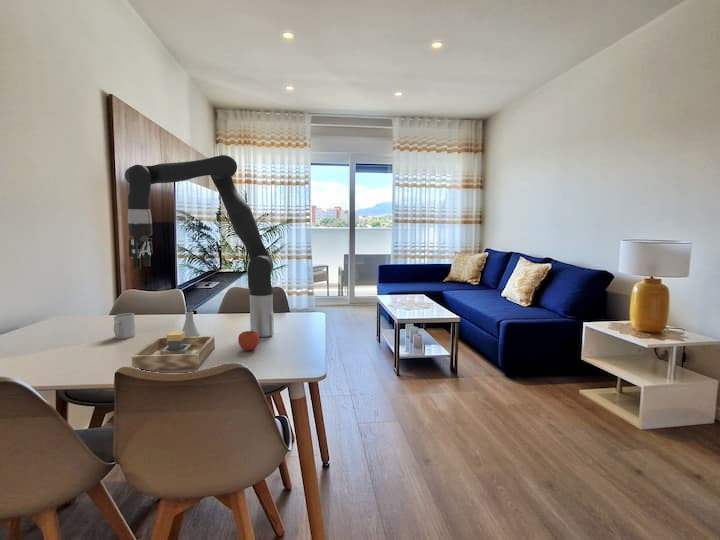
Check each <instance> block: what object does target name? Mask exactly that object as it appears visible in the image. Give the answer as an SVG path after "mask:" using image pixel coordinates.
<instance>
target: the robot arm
mask: <svg viewBox="0 0 720 540" xmlns="http://www.w3.org/2000/svg"><path fill="white" fill-rule="evenodd" d="M237 171H238V164H237V161H236V160H235V159H234V158H233V157H232V156H231V155H228V154H220V155H216V156H212V157H209V158H208V157H207V158H203V159H198V160H190V161H189V160H188V161H177V162H166V163H165V162H164V163H158V164H153V165H142V164H134V165H131V166H130V167H128V168H126V170H125V172H124V179H125V180H126V182H127V183H128V185H129V186H128V188H129V192H128V195H127V209H128V210H127V228H128V229H127V231H128V236H130V237H133V238H132V239H129V240H128V256H129V257H130V258H131V259H132V265H133V269H134V270H139V269H141V268H142V265H141V264H143V267H151V256H152V254H154V252H153V251H154V250H153V238H152V237H151V236H152V235H153V221H152V212H151V200H150V199H151V198H150V197H151V196H150V195H151V187H152V186H151V185H155V184H169V183H170V184H171V183H178V182H179V183H180V182H185V181H189V180H192V179H196V178H200V177H207V176H210V178H211V181H212V182H213V184H214V186H215V187H216V189H217V191H218V194H219V196H220V199H221V200H222V204H223V206H224V209H225V211H226V212H227V215H228V218H229V220H230V223H231V226H232V228H233V231H234V232H235V234H236V235H237V237H238V238H239V240H240V241H241V242H242V244H243V245H244V248H246V251H247V254H248V257H249V259H250V260H249V262H248V264H247V285H248V289H249V314H250V316H249V318H250V319H249V321H250V322H249V323H250V325H249V326H250V330H249V331H254V332H256V333H257V334H258V335H259V338H267V337H273V336H274V333H275V328H274V327H275V326H274V325H275V324H274V323H275V322H274V321H275V319H274V317H275V316H274V315H275V314H274V309H273V307H274V304H273V303H274V300H273V294H274V293H273V285H272V272H273V270H274V262H273V260H272V258H271V256H270V255H269V252H268V251H267V249H266V246H265V244H264V243H263V240H262V238H261V237H262V236H261V233H260V231H259V230H260V229H259V228H258V225H257V222H256V219H255V217H254V214H253V212H252V209H251V207H250V206H249V204H248V203H247V201H246V200H245V199H244V198H243V197H242V195H240V193H239V192H238V190H237V188H236V184H235V183H234V180H233V176H234V175H235V174H236V173H237ZM141 256H142V260H143V261H142V262H143V263H141ZM252 329H253V330H252Z"/></svg>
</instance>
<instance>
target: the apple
mask: <svg viewBox="0 0 720 540" xmlns="http://www.w3.org/2000/svg"><path fill="white" fill-rule="evenodd" d="M252 330H253V329H252ZM237 340H238V341H237V342H238V343H239V344H238V345H239V346H240V348H241V349H242V350H244V351H246V352H250V351H253V350H254V349H256V348H257V347H258V344H259V342H260V337H259V335H258V334H257V333H256V332H254V331H250V330H246V331H242V332H240V333H239V335H238V339H237Z"/></svg>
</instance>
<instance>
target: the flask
mask: <svg viewBox="0 0 720 540" xmlns="http://www.w3.org/2000/svg"><path fill="white" fill-rule="evenodd" d="M184 315H185V322H184V325H183V327H182V329H181V332H182V331H185V337H200V336H201V334H200V332H199V330H198V327H197V324H196V323H195V319H194V311H186V312H184Z"/></svg>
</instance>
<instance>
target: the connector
mask: <svg viewBox="0 0 720 540" xmlns="http://www.w3.org/2000/svg"><path fill="white" fill-rule="evenodd" d="M166 337H167V341H168V350H183V349H184V338H185V331H182V330H181V331H170V332H169V333H168V334H166Z"/></svg>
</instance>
